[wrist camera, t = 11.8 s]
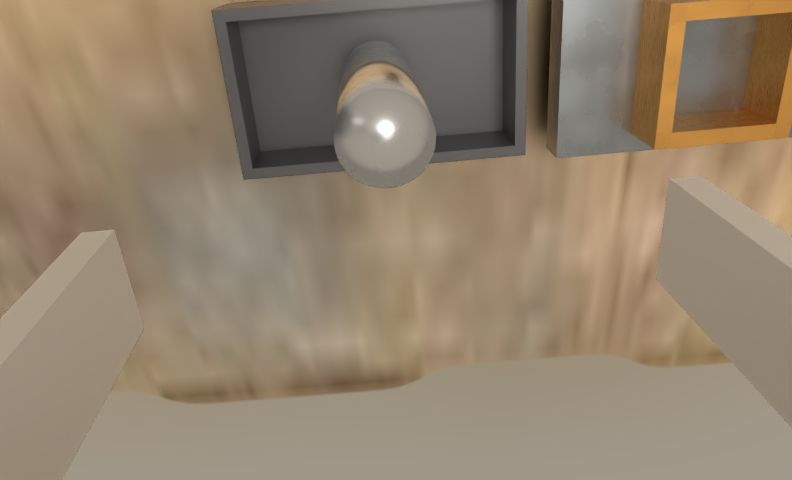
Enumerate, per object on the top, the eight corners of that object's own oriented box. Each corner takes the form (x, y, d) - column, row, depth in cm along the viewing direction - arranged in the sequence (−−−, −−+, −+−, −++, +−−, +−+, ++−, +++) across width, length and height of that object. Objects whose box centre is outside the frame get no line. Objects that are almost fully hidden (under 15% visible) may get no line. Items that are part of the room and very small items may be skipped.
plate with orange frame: (533, 133, 38) (573, 176, 31) (537, -22, 35) (584, -14, 27) (767, 112, 39) (861, 150, 32) (797, -44, 35) (912, -41, 28)
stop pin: (345, 113, 36) (339, 192, 25) (337, 43, 35) (327, 93, 23) (412, 107, 36) (438, 183, 25) (408, 37, 35) (433, 83, 23)
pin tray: (254, 157, 38) (243, 179, 34) (226, 3, 34) (211, 10, 31) (509, 135, 38) (525, 154, 35) (510, -20, 35) (528, -16, 31)
